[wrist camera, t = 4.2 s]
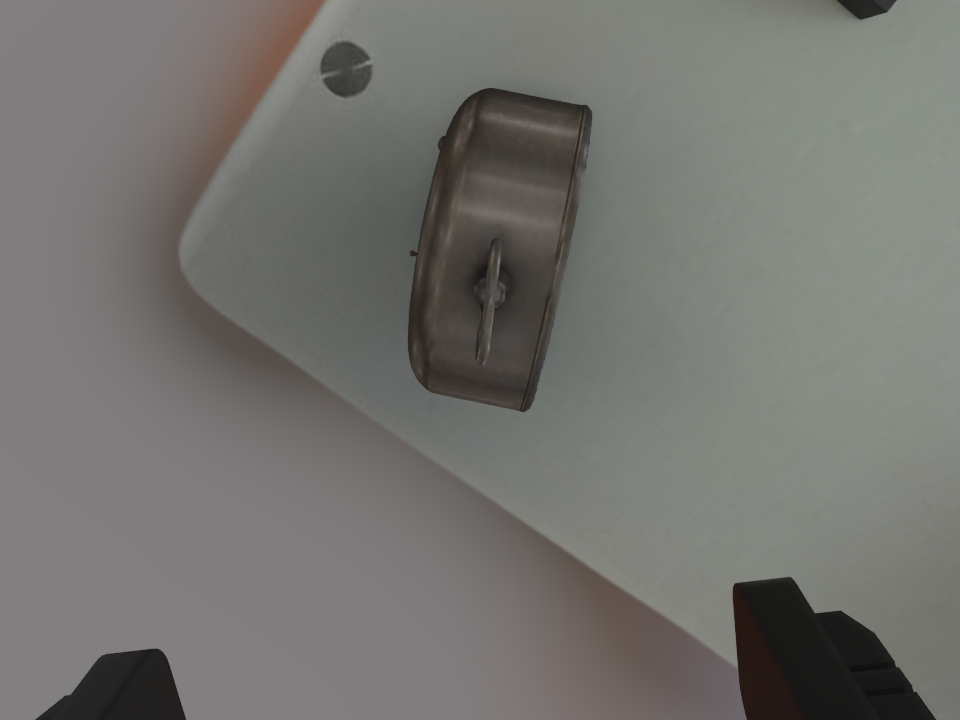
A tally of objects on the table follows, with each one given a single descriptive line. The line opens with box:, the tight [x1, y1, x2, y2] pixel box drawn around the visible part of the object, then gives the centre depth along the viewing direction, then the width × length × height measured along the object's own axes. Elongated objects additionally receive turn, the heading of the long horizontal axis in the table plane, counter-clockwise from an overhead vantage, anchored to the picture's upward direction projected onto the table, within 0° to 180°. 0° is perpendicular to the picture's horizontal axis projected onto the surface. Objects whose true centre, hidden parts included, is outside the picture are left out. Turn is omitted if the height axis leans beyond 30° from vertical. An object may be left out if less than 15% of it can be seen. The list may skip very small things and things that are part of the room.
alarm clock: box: [408, 88, 592, 412], centre depth 28 cm, size 11×5×16 cm, turn 169°
